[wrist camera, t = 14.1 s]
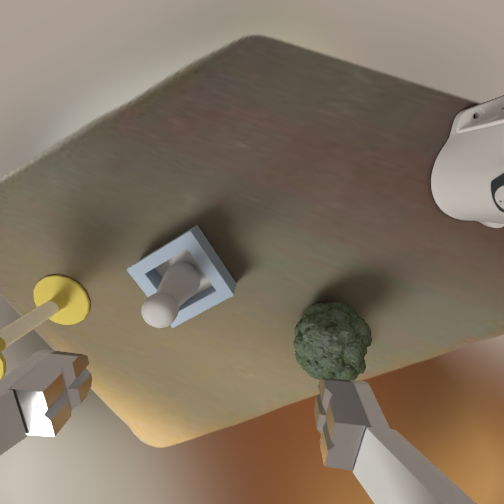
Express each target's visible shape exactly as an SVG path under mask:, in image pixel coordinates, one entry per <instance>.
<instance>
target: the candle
mask: <svg viewBox="0 0 504 504" xmlns="http://www.w3.org/2000/svg"><path fill="white" fill-rule="evenodd" d="M34 301H35V303H36V305H37V308H35V309H34V310H32V311H30V312H29V313H27V314H26V315H24V316H22V317H21V318H19V319H17V320H16V321H14V322H12V323H11V324H9V325H7V326H6V327H4V328H3V329H1V330H0V380H1V379H2V378H3V376H4V374H5V372H6V361H5V359H4V357H3V355H2V353H1V351H2V350H4V349H5V348H7V347H8V346H9V345H11V344H12V343H14V342H15V341H17V340H18V339H19V338H21V337H22V336H24V335H25V334H27V333H28V332H30V331H31V330H33V329H34V328H35V327H37V326H38V325H40V324H41V323H43V322H44V321H46V320H47V319H50V320H52V321H54V322H55V323H59V324H64V325H70V324H77V323H78V322H80V321H82V320H83V319H85V318H86V316H87V314H88V313H89V311H90V300H89V298H88V295H87V292H86V291H85V290H84V289H83V288H82V286H81V285H80V284H79V283H77V282H76V281H74V280H72V279H71V278H69V277H65V276H61V275H52V276H46V277H45V278H43V279H42V280H40V281H39V282H38V283H37V285H36V287H35V289H34Z"/></svg>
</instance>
